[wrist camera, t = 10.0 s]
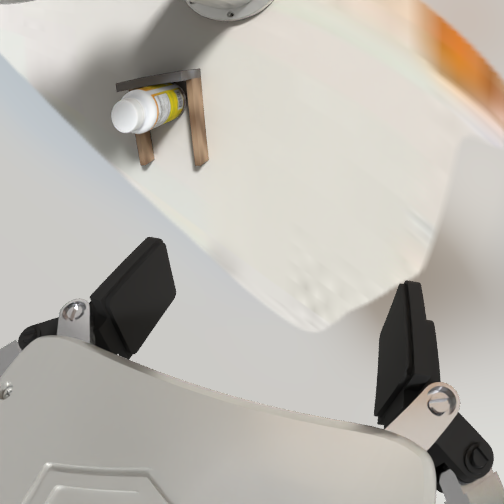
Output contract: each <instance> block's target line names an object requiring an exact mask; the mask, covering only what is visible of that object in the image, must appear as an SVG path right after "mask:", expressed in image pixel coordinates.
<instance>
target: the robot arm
mask: <svg viewBox="0 0 504 504" xmlns="http://www.w3.org/2000/svg"><path fill="white" fill-rule="evenodd" d="M29 1H35V0H0V4H16V3H23V2H29ZM185 1H186V2H187V4H188V5H189V7H190V8H192V9H193V10H194V11H195V12H196V13H198V14H200V15H201V16H203V17H206V18H209V19H212V20H217V21H237V20H241V19H245V18H248V17H250V16H253V15H255V14H257V13H258V12H260V11H262V10H263V9H265V8H266V7H267V6H268V5H269V4H270V3H271V2H272V1H273V0H185ZM233 13H234V16H233V17H232V16H231V15H232V14H233ZM175 295H176V289H175V285H174V280H173V276H172V272H171V268H170V263H169V258H168V253H167V249H166V245H165V243H163V241H162V240H161V239H159V238H153V237H148V238H146V239H145V240H144V241H143V242H142V243H141V244H140V245H139V246H138V247H137V248H136V249H135V250H134V251H133V252H132V253H131V254H130V255H129V256H128V257H127V258H126V259H125V260H124V261H123V262H122V263H121V264H120V265H119V266H118V267H117V268H116V269H115V271H114V272H112V274H111V275H110V276H109V277H108V278H107V279H106V280H105V281H104V282H103V283H102V284H101V285H100V286H99V287H98V289H96V291H95V292H94V293H93V294H92V295H91V296H90V298H91V302H90V303H88V302H87V301H86V300H84V299H74V300H72V301H69V302H68V303H66V304H65V305H64V306H63V307H62V309H61V310H60V313H59V317H58V318H55V319H52V320H48V321H45V322H43V323H39V324H36V325H32V326H30V327H28V328H26V329H25V330H24V331H23V332H22V333H21V335H20V337H19V340H18V342H17V341H16V340H15V341H13V342H11V343H10V344H8V345H7V346H5V347H3V348H1V349H0V504H435V502H436V489H437V490H438V491H439V492H441V493H444V496H445V498H446V502H444V503H445V504H504V488H503V486H502V483H501V481H500V478H499V476H498V474H497V472H494V473H493V470H492V468H491V467H492V464H493V461H494V458H493V451H492V448H491V447H490V446H489V444H488V443H487V442H486V441H485V440H484V439H483V438H482V437H481V435H480V434H479V433H478V432H477V431H476V430H475V429H474V428H473V427H472V426H471V425H470V424H469V423H468V422H467V421H466V420H465V419H464V417H462V415H461V414H460V413H459V412H458V411H459V409H460V399H459V396H458V393H457V391H456V390H455V389H454V388H453V387H452V386H450V385H448V384H447V383H443V382H440V369H439V359H438V349H437V341H436V333H435V326H434V323H433V321H430V320H426V314H425V307H424V300H423V294H422V289H421V284H420V283H418V282H413V281H407V280H406V281H405V282H404V284H399V286H398V289H397V292H396V295H395V297H394V300H393V303H392V305H391V308H390V311H389V313H388V316H387V318H386V321H385V323H384V326H383V328H382V331H381V334H380V338H379V357H378V375H377V387H376V399H375V409H374V416H378V424H380V425H384V429H380V428H376V427H372V426H367V425H362V424H357V423H352V422H346V421H340V420H335V419H329V418H324V417H319V416H313V415H309V414H304V413H299V412H294V411H290V410H285V409H281V408H277V407H272V406H268V405H264V404H260V403H256V402H252V401H249V400H245V399H242V398H238V397H234V396H231V395H227V394H224V393H220V392H217V391H214V390H211V389H207V388H204V387H201V386H198V385H195V384H192V383H189V382H186V381H183V380H180V379H177V378H175V377H172V376H169V375H166V374H164V373H161V372H158V371H156V370H153V369H150V368H148V367H145V366H142V365H140V364H138V363H135V362H133V361H130V360H129V359H130V357H131V356H132V354H135V353H137V351H138V350H139V348H140V347H141V346H142V344H143V343H144V341H145V340H146V338H147V337H148V335H149V334H150V332H151V331H152V330H153V328H154V327H155V325H156V324H157V322H158V321H159V319H160V318H161V317H162V315H163V314H164V312H165V311H166V310H167V308H168V307H169V305H170V304H171V303H172V301H173V300H174V298H175ZM117 354H119V356H118V355H117ZM123 357H124V358H123ZM125 358H126V359H125Z"/></svg>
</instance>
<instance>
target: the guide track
mask: <svg viewBox="0 0 504 504" xmlns="http://www.w3.org/2000/svg"><path fill="white" fill-rule="evenodd" d="M184 80H186V86H187V96H188V106H189V115H190V125H191V133H192V142H193V150H194V158H195V166H201V165H202V164H204V163H205V162H206V161H208V160H209V158H208V149H207V139H206V129H205V119H204V108H203V97H202V86H201V74H200V69H193V70H186V71H178V72H172V73H166V74H160V75H154V76H149V77H143V78H138V79H134V80H129V81H125V82H121V83H116V89H117V92H119V91H124V90H129V92H130V91H132V90H136V89H140V88H144V87H145V86H151V85H157V84H163V83H170V82H177V81H184ZM135 136H136V142H137V147H138V153H139V158H140V164H141V165H146V164H148V163H149V162H151V161H153V160H154V154H153V148H152V142H151V136H150V130H149V131H147V132H145V133H141V134H135Z"/></svg>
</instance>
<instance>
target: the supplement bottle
mask: <svg viewBox="0 0 504 504" xmlns="http://www.w3.org/2000/svg"><path fill="white" fill-rule="evenodd" d="M185 106H186V96H185V93H184V91H183V90H182V88H181V87H180V86H178V85H177V84H175V83H172V82H170V83H163V84H157V85H151V86H147V87H144V88H140V89H136V90H132V91H130V92H128V93H126V94H125V95H124V96H123V98H122V99H121V101H119V102H117V103H116V104H115V105H114V107H113V109H112V112H111V119H112V123H113V125H114V127H115V128H116V129H117V130H118V131H120V132H122V133H129V132H132V133H135V134H141V133H145V132H147V131H149V130H151V129H153V128H156V127H158V126H160V125H162V124H164V123H167V122H169V121H171V120H174V119H176V118H177V117H179V116H180V115H181V114H182V113H183V111H184V109H185Z"/></svg>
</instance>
